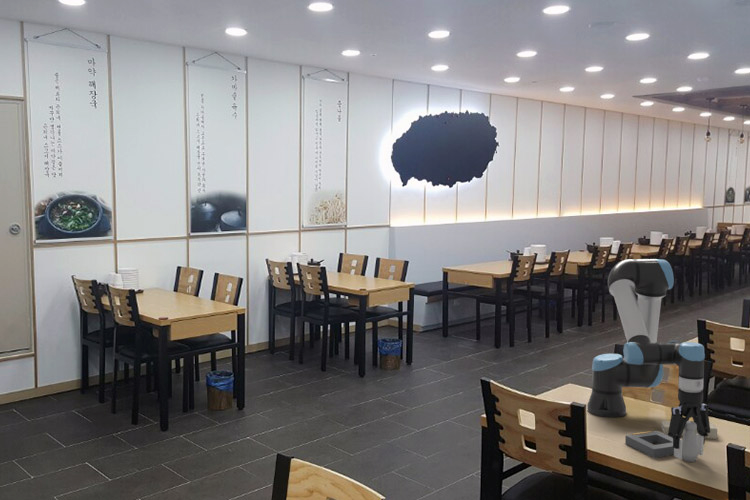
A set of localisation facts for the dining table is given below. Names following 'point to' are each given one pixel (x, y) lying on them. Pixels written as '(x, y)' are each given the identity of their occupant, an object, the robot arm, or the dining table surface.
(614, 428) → the dining table surface
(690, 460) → the salt shaker
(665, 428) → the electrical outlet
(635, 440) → the caddy block
